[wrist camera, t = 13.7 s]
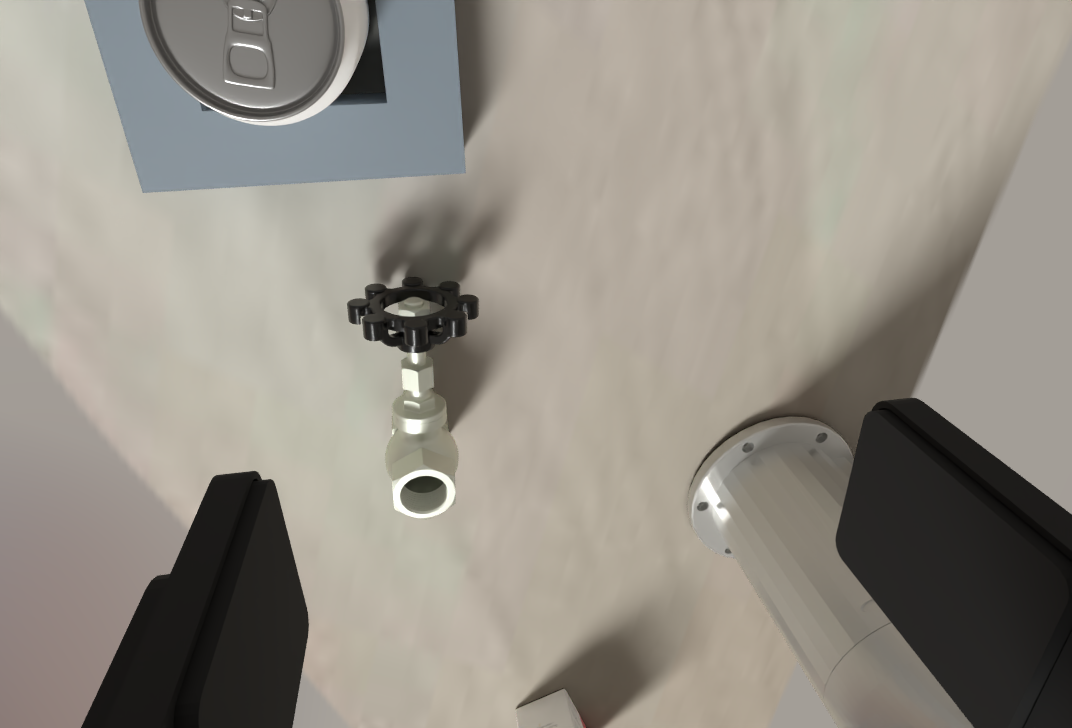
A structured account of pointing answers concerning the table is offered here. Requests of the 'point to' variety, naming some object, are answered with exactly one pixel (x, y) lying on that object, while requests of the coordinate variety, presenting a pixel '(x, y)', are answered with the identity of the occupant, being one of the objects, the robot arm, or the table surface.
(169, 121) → the socket block
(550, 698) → the ink cartridge box
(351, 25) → the can
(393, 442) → the valve
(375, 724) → the table surface
